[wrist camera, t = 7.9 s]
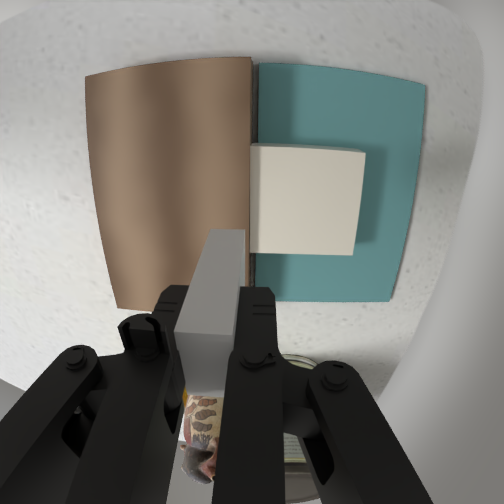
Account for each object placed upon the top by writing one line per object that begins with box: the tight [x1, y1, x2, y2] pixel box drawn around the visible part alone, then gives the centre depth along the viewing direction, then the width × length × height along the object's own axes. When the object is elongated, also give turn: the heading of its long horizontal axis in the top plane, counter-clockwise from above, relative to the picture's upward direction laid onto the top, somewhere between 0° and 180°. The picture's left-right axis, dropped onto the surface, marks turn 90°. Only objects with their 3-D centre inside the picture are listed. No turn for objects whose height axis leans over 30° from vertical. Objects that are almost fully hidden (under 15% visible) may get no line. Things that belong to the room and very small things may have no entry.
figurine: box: [180, 395, 224, 484], centre depth 31 cm, size 7×7×12 cm
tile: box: [250, 143, 366, 256], centre depth 22 cm, size 8×8×2 cm
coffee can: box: [282, 355, 320, 504], centre depth 28 cm, size 10×10×14 cm
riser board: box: [85, 57, 253, 312], centre depth 23 cm, size 12×20×3 cm, turn 179°
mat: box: [255, 63, 425, 302], centre depth 23 cm, size 13×20×1 cm, turn 179°
